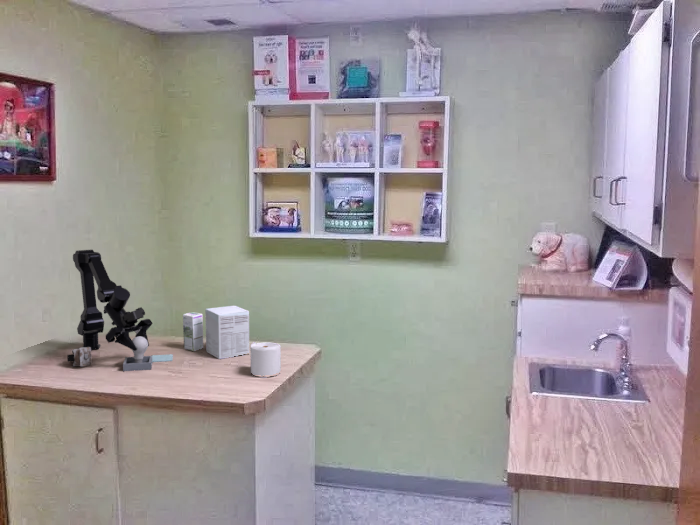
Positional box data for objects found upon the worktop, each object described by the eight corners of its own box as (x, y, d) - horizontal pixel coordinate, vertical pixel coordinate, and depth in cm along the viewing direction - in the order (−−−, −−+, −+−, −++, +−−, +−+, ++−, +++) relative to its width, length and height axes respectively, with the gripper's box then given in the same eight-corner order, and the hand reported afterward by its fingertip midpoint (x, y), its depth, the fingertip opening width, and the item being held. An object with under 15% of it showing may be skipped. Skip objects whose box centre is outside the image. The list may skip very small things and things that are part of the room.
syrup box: (204, 348, 273) (203, 313, 271) (193, 351, 268) (192, 315, 266) (193, 346, 276) (193, 311, 274) (183, 349, 271) (182, 313, 269)
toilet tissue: (272, 379, 234) (272, 351, 232) (241, 375, 238) (241, 347, 237) (285, 370, 244) (285, 343, 242) (256, 367, 248) (255, 340, 246)
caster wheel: (76, 366, 255) (100, 364, 253) (57, 368, 244) (81, 366, 242) (76, 348, 256) (99, 346, 254) (56, 350, 245) (80, 347, 243)
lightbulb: (150, 366, 247) (151, 337, 247) (134, 368, 243) (136, 338, 242) (141, 364, 251) (143, 334, 251) (126, 365, 247) (127, 335, 246)
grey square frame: (125, 363, 250) (125, 357, 250) (152, 362, 253) (152, 355, 252) (123, 371, 241) (123, 364, 241) (151, 369, 243) (151, 362, 243)
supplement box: (250, 354, 264) (250, 310, 262) (218, 359, 257) (218, 314, 255) (236, 347, 275) (235, 305, 273) (205, 351, 268) (204, 308, 266)
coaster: (151, 356, 260) (151, 355, 260) (172, 355, 262) (172, 354, 262) (150, 362, 253) (150, 361, 253) (172, 360, 255) (172, 359, 254)
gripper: (110, 305, 238) (134, 340, 234) (148, 297, 254) (171, 329, 251) (94, 325, 242) (118, 359, 239) (133, 315, 259) (155, 347, 256)
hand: (142, 348), depth 246 cm, fingers closed on lightbulb, 6 cm apart
